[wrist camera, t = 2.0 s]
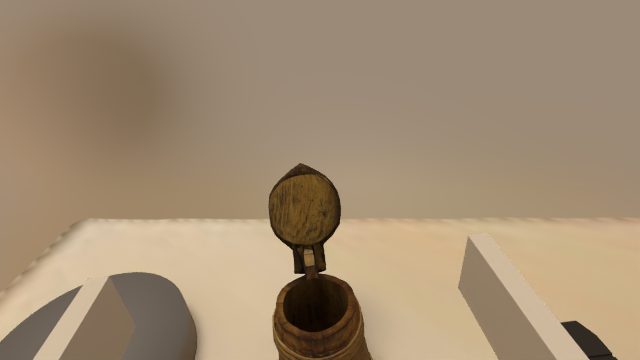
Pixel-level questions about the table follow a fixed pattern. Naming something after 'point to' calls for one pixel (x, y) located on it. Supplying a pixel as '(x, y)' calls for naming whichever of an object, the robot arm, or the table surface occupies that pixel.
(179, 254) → the table surface
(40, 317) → the charcoal plinth
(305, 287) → the wooden mug
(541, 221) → the table surface
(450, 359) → the table surface
